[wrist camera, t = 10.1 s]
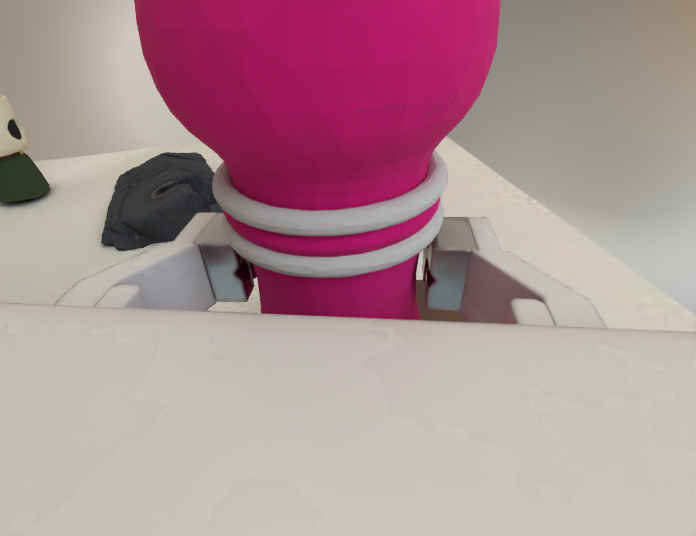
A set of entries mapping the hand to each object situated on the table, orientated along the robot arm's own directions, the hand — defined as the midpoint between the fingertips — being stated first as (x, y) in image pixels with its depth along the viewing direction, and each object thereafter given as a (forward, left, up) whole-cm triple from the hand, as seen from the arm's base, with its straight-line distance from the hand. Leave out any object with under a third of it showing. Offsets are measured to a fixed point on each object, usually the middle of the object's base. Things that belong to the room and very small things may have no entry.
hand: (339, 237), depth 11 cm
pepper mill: (0, -1, -11) cm, 11 cm away
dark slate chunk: (-28, +36, -18) cm, 49 cm away
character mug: (-50, +37, -18) cm, 65 cm away
